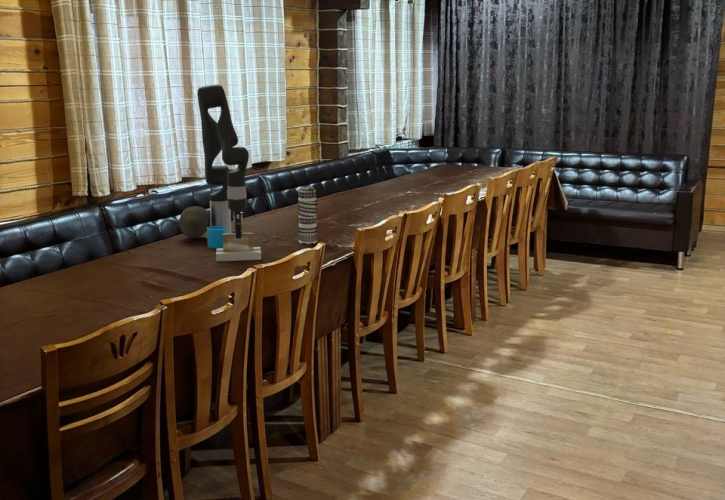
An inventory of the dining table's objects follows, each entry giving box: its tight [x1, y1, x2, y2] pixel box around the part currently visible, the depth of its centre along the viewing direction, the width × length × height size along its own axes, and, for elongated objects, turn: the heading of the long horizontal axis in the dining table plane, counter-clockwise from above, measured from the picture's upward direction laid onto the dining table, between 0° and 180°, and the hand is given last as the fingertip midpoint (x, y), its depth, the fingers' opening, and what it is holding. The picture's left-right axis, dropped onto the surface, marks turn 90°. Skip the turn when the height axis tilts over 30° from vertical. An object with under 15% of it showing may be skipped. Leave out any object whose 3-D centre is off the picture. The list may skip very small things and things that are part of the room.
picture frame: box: [223, 232, 254, 252], centre depth 276 cm, size 3×12×9 cm, turn 100°
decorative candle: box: [296, 186, 319, 245], centre depth 302 cm, size 9×9×25 cm
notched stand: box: [215, 246, 262, 262], centre depth 277 cm, size 10×18×3 cm, turn 100°
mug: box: [206, 226, 227, 249], centre depth 295 cm, size 12×8×8 cm
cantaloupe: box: [178, 205, 211, 240], centre depth 309 cm, size 14×14×15 cm
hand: (238, 236), depth 275 cm, fingers open, 8 cm apart
